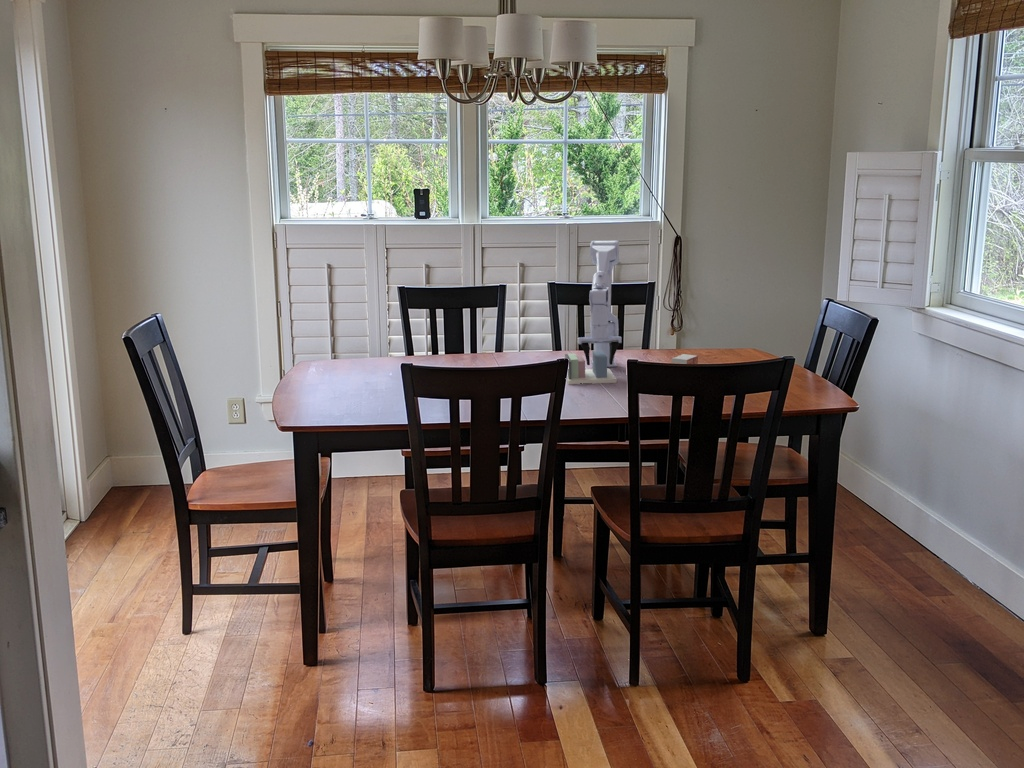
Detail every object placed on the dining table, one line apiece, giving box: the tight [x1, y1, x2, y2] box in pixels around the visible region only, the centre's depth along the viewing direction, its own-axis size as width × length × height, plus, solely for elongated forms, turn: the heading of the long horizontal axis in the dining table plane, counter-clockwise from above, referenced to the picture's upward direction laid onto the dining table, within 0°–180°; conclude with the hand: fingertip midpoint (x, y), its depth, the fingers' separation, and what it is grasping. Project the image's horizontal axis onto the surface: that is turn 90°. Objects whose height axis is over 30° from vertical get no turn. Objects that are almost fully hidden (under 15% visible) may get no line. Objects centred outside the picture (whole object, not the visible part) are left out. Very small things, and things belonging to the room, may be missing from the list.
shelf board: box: [566, 367, 618, 385], centre depth 332 cm, size 16×16×1 cm
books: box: [566, 352, 586, 379], centre depth 331 cm, size 10×5×6 cm, turn 3°
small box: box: [670, 353, 699, 365], centre depth 314 cm, size 8×6×10 cm
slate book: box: [591, 350, 608, 378], centre depth 331 cm, size 10×4×7 cm, turn 3°
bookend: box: [564, 353, 571, 379], centre depth 331 cm, size 12×1×6 cm, turn 3°
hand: (599, 364), depth 332 cm, fingers open, 7 cm apart
